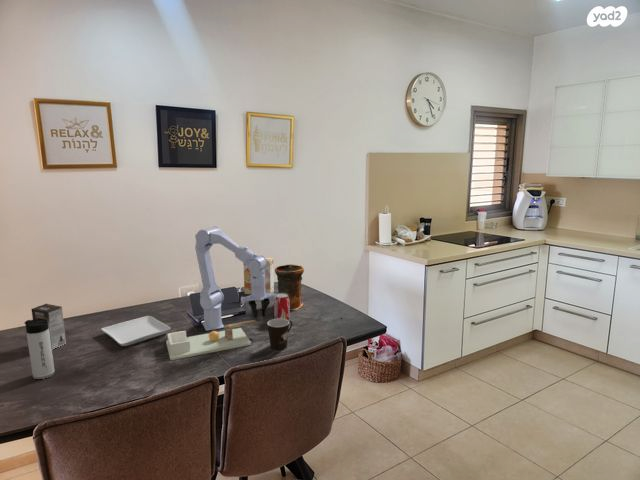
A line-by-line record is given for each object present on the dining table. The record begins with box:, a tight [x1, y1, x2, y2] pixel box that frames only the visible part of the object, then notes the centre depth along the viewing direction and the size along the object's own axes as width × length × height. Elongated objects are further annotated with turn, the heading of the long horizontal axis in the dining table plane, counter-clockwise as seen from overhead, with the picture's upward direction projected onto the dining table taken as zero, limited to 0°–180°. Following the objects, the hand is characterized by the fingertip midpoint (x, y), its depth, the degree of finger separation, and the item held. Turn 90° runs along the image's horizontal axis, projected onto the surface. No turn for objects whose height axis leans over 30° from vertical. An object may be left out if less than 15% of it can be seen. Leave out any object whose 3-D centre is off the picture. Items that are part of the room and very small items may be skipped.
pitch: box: [165, 327, 252, 361], centre depth 166 cm, size 16×30×1 cm, turn 115°
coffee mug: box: [266, 318, 293, 351], centre depth 164 cm, size 12×9×10 cm
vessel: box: [274, 263, 305, 311], centre depth 207 cm, size 14×14×20 cm
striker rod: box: [224, 308, 264, 340], centre depth 171 cm, size 5×16×10 cm, turn 115°
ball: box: [209, 330, 219, 341], centre depth 167 cm, size 4×4×4 cm
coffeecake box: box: [243, 257, 275, 295], centre depth 227 cm, size 15×7×20 cm, turn 80°
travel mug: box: [24, 318, 55, 380], centre depth 140 cm, size 6×7×20 cm
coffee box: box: [31, 303, 67, 351], centre depth 163 cm, size 9×6×16 cm
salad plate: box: [100, 315, 171, 347], centre depth 175 cm, size 21×21×3 cm
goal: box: [166, 330, 190, 355], centre depth 161 cm, size 11×7×4 cm, turn 25°
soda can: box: [273, 293, 291, 321], centre depth 190 cm, size 7×7×12 cm
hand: (259, 316), depth 174 cm, fingers closed on striker rod, 3 cm apart
